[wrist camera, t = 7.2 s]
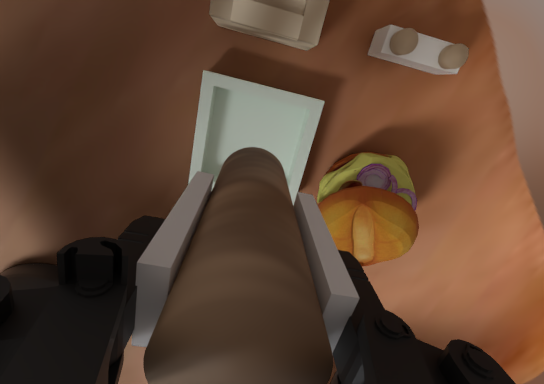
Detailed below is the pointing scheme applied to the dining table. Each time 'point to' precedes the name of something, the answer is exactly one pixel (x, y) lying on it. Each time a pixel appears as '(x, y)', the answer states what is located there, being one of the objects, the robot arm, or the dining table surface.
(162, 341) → the dowel
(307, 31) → the jig block
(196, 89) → the dining table surface
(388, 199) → the cheeseburger
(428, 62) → the rail
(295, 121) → the tray
